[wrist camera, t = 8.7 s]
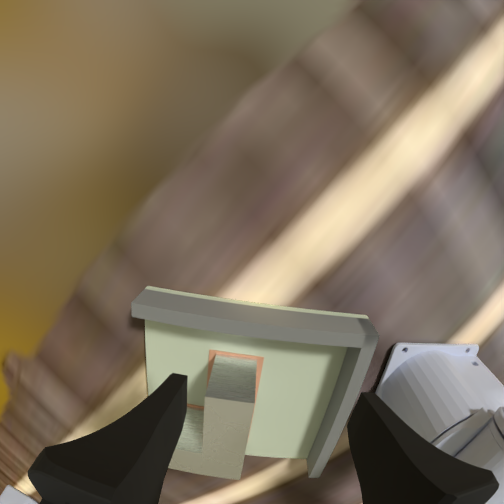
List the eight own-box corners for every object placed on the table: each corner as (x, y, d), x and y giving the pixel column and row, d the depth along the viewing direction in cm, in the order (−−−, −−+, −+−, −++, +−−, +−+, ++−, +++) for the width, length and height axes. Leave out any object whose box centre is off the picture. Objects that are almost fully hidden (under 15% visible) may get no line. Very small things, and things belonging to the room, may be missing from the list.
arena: (366, 315, 22) (379, 335, 19) (315, 454, 26) (319, 477, 23) (147, 285, 22) (131, 302, 19) (154, 433, 26) (145, 455, 23)
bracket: (243, 437, 24) (239, 479, 20) (166, 424, 24) (152, 464, 20) (257, 358, 22) (254, 403, 17) (163, 344, 22) (141, 383, 17)
